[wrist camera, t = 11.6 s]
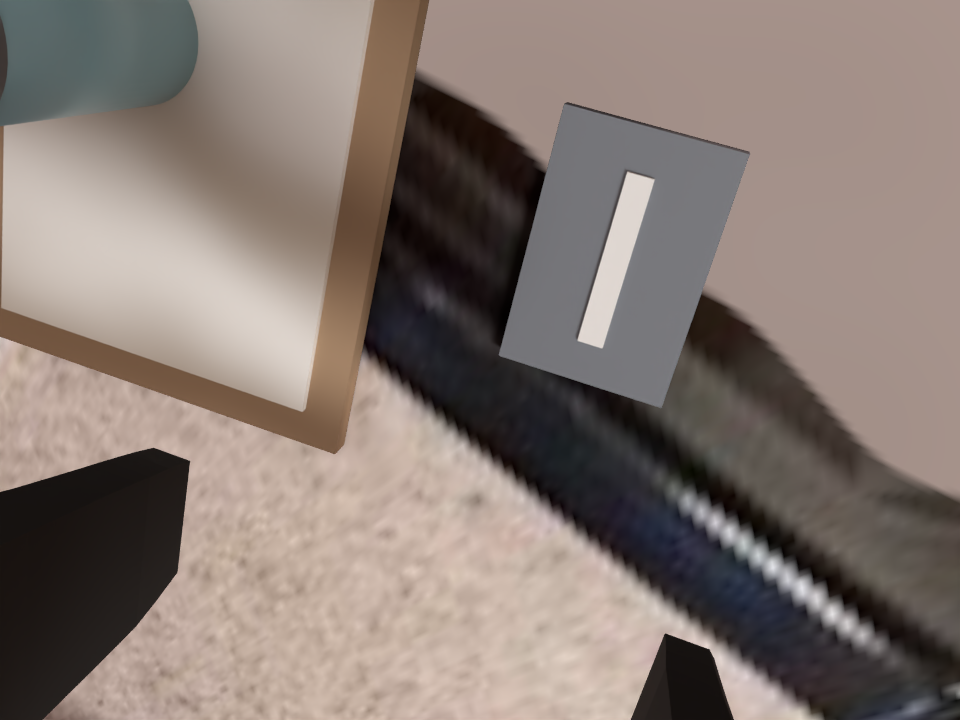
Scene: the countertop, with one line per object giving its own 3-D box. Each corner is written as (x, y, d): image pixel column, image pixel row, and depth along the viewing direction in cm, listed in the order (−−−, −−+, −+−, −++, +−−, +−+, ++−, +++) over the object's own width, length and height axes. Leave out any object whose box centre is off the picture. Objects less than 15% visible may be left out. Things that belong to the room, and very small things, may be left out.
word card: (662, 401, 21) (660, 409, 21) (502, 350, 22) (497, 357, 21) (749, 152, 19) (749, 154, 18) (567, 101, 19) (563, 104, 19)
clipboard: (344, 444, 24) (327, 462, 23) (-9, 321, 26) (-39, 333, 25) (455, -139, 18) (439, -148, 17) (-3, -246, 20) (-42, -260, 19)
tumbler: (193, 127, 21) (-41, 171, 15) (68, 88, 22) (-210, 113, 15) (210, -26, 20) (-38, -50, 13) (76, -64, 20) (-225, -104, 14)
